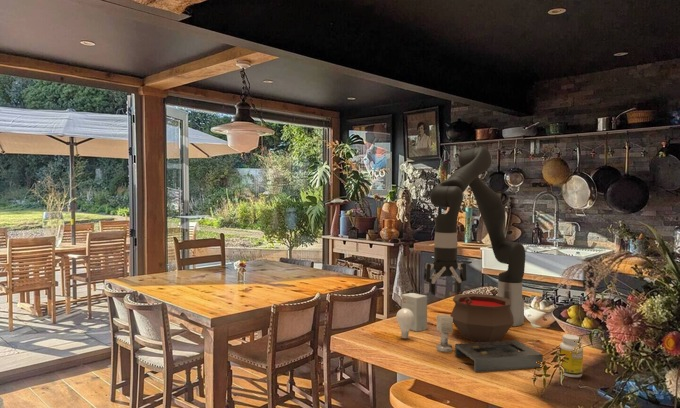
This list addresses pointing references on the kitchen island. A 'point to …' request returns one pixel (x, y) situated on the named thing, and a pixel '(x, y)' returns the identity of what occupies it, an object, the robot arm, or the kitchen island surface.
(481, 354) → the keyhole plate
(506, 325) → the brown cooking pot
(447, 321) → the keyhole peg
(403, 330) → the lightbulb
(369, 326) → the kitchen island surface
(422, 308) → the small box
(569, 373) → the pill bottle
